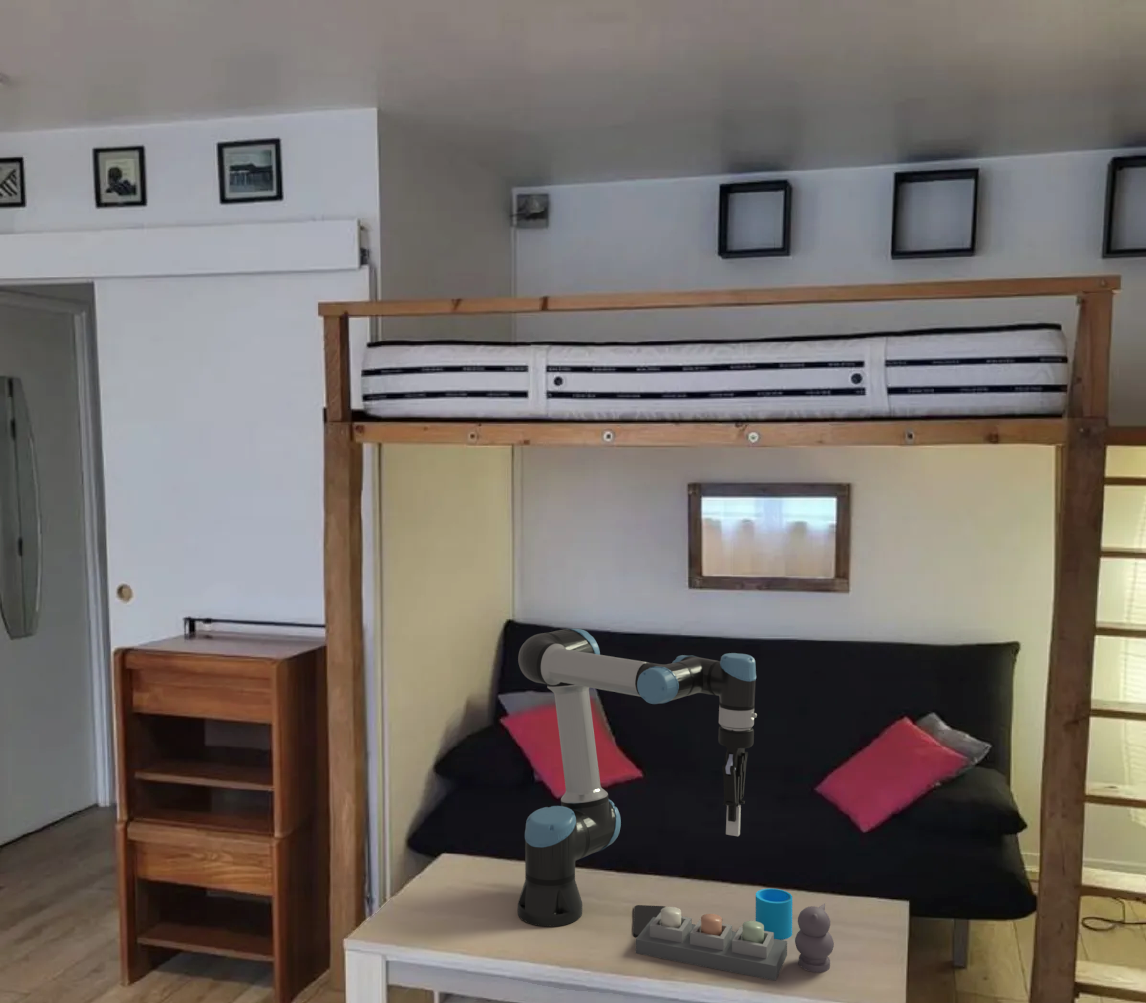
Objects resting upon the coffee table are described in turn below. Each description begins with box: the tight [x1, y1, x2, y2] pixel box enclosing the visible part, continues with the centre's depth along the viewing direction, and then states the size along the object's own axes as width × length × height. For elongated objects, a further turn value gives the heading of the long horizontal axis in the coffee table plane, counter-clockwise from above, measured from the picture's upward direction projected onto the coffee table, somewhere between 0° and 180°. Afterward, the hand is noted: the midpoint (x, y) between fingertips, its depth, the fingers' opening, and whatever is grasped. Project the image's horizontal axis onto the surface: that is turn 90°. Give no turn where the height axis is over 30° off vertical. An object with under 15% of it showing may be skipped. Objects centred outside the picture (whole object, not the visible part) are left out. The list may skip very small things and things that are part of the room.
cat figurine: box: [794, 903, 835, 973], centre depth 209 cm, size 8×8×12 cm
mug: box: [755, 888, 793, 940], centre depth 226 cm, size 12×8×8 cm
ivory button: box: [661, 906, 682, 929], centre depth 217 cm, size 4×4×4 cm
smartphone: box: [632, 904, 666, 938], centre depth 229 cm, size 8×1×16 cm
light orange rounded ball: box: [700, 913, 723, 936], centre depth 214 cm, size 4×4×4 cm
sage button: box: [742, 920, 764, 944], centre depth 210 cm, size 4×4×4 cm
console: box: [635, 912, 788, 981], centre depth 214 cm, size 30×12×5 cm, turn 67°
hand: (732, 834), depth 217 cm, fingers closed
